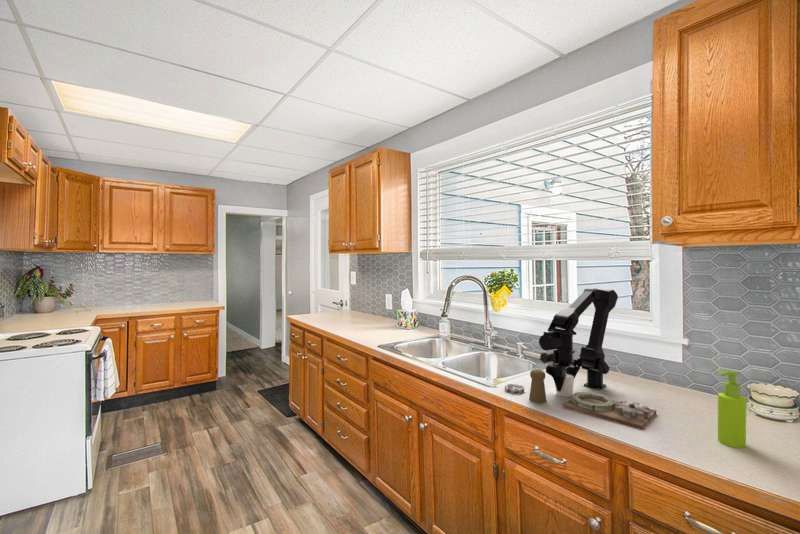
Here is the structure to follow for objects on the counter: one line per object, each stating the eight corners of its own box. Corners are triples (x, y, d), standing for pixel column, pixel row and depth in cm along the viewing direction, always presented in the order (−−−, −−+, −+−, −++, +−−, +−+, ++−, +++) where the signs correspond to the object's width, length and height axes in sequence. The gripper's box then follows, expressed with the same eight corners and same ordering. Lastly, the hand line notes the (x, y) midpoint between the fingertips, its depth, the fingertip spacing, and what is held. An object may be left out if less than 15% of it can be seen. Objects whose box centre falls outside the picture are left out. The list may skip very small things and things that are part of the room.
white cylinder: (551, 394, 143) (551, 375, 143) (558, 389, 148) (558, 371, 148) (570, 398, 138) (570, 379, 138) (576, 393, 143) (576, 375, 143)
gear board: (580, 395, 142) (581, 384, 142) (656, 414, 124) (656, 402, 124) (562, 407, 131) (562, 395, 131) (642, 429, 113) (642, 416, 113)
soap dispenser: (708, 438, 108) (709, 368, 107) (731, 437, 108) (731, 367, 108) (728, 448, 102) (729, 375, 101) (751, 447, 102) (752, 374, 102)
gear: (507, 386, 152) (506, 382, 152) (525, 389, 149) (525, 385, 149) (503, 392, 146) (503, 388, 146) (522, 395, 143) (522, 391, 142)
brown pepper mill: (548, 404, 134) (548, 373, 133) (530, 402, 135) (530, 372, 135) (545, 397, 140) (545, 368, 139) (527, 396, 141) (527, 367, 141)
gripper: (554, 340, 155) (554, 377, 156) (532, 347, 142) (532, 389, 143) (582, 344, 147) (582, 384, 147) (561, 353, 134) (561, 396, 135)
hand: (564, 388), depth 143 cm, fingers open, 9 cm apart
